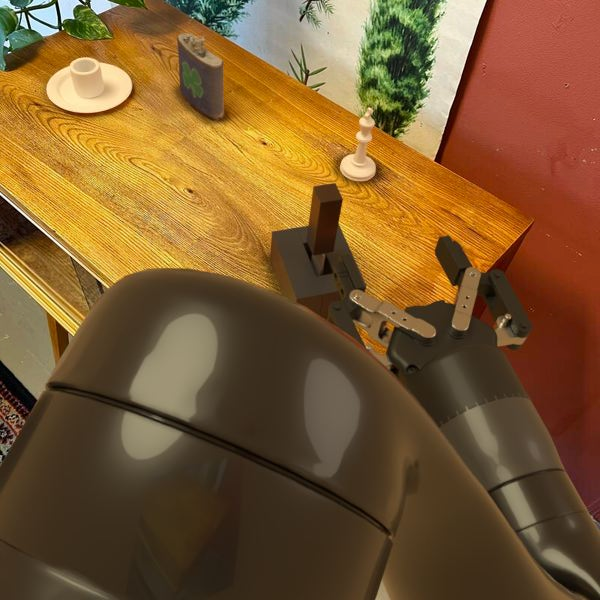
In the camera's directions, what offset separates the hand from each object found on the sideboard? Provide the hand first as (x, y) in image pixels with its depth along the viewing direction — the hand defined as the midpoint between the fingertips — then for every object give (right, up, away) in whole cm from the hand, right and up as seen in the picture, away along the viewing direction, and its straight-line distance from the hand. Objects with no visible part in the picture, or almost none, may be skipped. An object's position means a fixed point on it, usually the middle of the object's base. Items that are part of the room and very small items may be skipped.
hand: (392, 251), depth 53 cm
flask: (-22, +25, +44) cm, 55 cm away
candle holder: (-38, +26, +44) cm, 64 cm away
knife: (-6, -2, +25) cm, 26 cm away
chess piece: (+1, +14, +38) cm, 41 cm away
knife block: (-6, -2, +25) cm, 26 cm away
